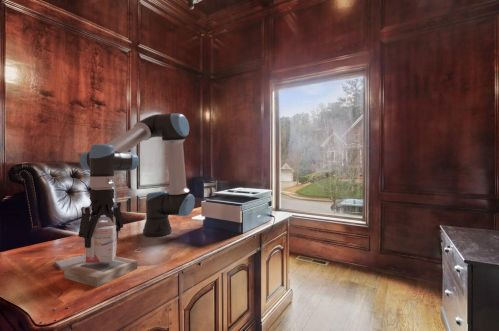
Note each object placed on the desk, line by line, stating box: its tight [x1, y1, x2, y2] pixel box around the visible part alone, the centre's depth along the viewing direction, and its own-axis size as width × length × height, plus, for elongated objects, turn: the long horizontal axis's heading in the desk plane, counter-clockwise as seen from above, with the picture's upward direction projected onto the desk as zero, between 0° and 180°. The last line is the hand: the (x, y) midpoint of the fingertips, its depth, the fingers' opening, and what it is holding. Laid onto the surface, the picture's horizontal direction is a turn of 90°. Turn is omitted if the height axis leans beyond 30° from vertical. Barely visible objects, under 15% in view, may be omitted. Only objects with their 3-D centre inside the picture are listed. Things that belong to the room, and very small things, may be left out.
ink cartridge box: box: [85, 216, 117, 263], centre depth 93 cm, size 9×5×15 cm, turn 104°
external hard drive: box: [54, 254, 86, 271], centre depth 104 cm, size 2×8×12 cm
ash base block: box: [63, 255, 138, 288], centre depth 93 cm, size 16×16×3 cm
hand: (102, 252), depth 93 cm, fingers closed on ink cartridge box, 8 cm apart
